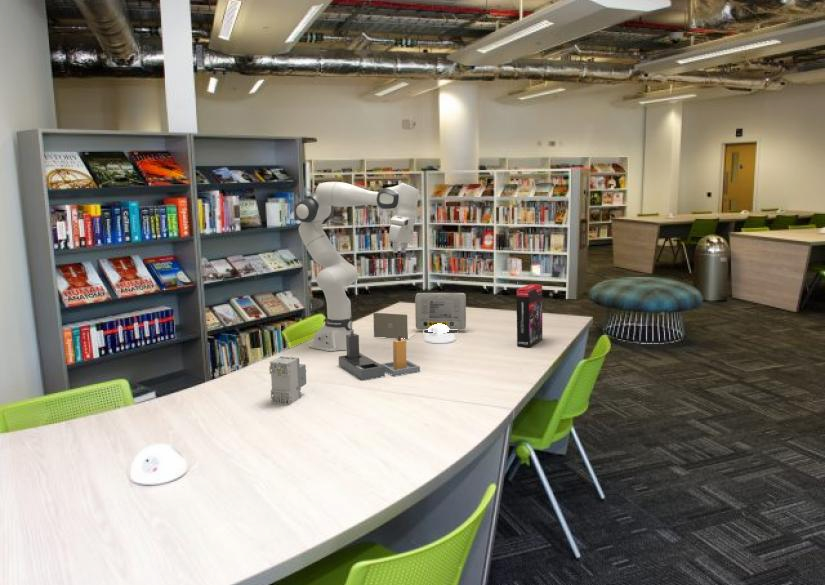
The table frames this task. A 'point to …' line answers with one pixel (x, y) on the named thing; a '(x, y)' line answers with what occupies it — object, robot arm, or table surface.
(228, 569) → the table surface
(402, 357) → the plug
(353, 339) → the twin plug
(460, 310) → the network device
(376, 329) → the laptop
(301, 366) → the circuit breaker
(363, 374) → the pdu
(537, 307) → the graphics card box
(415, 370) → the tray
